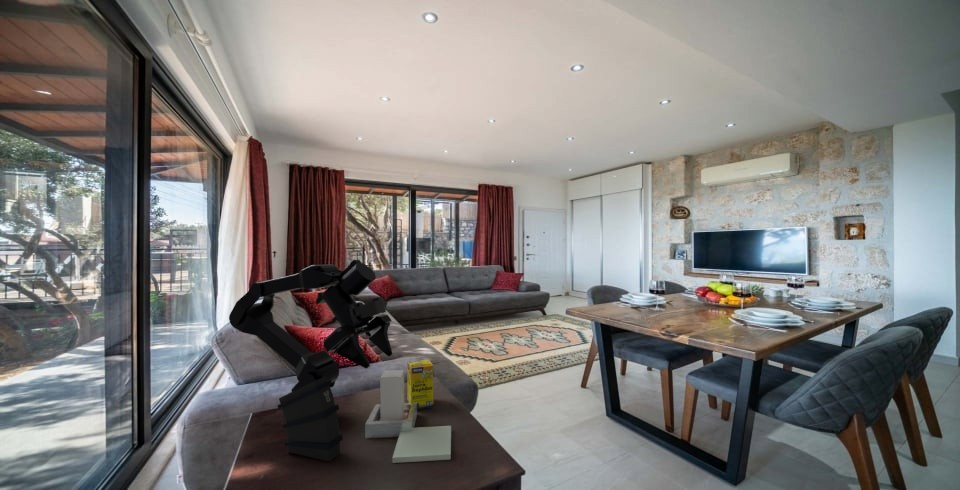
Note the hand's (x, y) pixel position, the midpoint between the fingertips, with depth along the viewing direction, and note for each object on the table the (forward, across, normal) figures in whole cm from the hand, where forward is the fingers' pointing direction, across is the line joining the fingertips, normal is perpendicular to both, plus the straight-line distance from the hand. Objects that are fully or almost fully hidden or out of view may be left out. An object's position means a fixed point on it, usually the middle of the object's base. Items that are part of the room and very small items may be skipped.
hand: (380, 361), depth 78 cm
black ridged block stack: (+7, -12, +16) cm, 21 cm away
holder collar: (+13, +2, +8) cm, 15 cm away
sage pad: (+20, -4, -1) cm, 20 cm away
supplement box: (+14, +13, +7) cm, 21 cm away
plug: (+13, +2, +8) cm, 15 cm away
